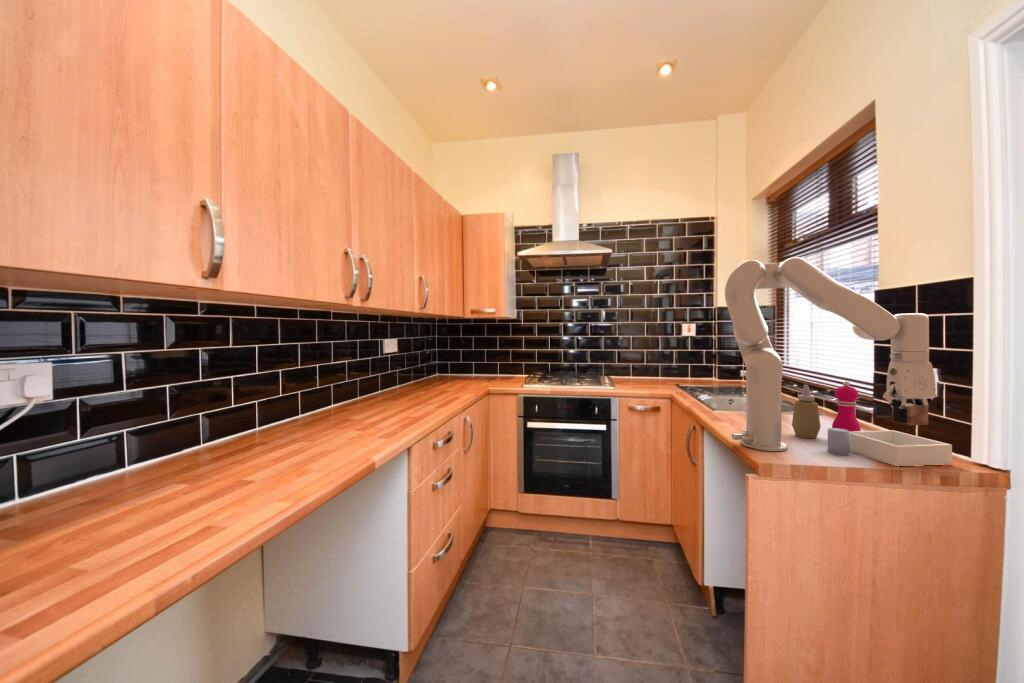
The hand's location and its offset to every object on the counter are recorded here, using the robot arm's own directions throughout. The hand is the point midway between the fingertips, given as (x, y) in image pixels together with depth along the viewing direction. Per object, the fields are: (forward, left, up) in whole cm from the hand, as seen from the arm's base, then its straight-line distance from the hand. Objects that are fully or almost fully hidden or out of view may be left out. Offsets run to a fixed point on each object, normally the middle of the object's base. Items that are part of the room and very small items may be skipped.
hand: (909, 421), depth 109 cm
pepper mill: (0, +20, -12) cm, 23 cm away
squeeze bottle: (-8, +27, -12) cm, 30 cm away
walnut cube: (0, 0, -1) cm, 1 cm away
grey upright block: (-13, +9, -11) cm, 19 cm away
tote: (0, +4, -11) cm, 12 cm away
